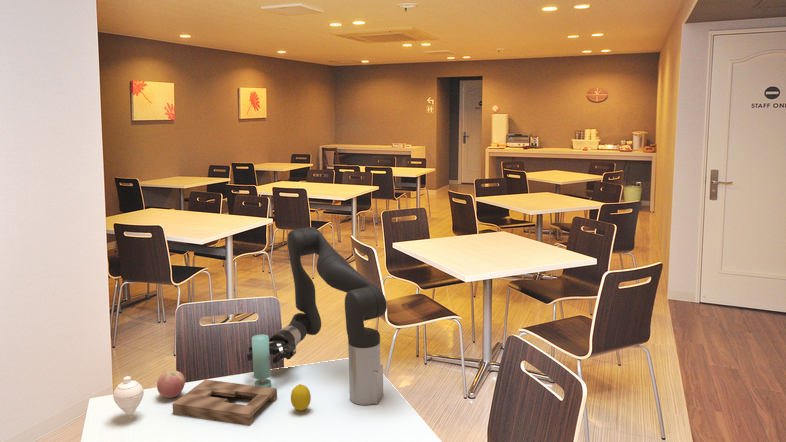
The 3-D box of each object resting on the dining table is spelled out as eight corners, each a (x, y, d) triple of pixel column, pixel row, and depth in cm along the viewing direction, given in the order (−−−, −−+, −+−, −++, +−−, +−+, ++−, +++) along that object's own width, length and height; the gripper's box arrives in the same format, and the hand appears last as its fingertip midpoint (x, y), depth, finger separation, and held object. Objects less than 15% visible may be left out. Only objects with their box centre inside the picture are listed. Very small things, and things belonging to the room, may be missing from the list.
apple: (172, 405, 172) (170, 379, 171) (152, 400, 175) (149, 374, 174) (191, 393, 179) (189, 368, 178) (171, 389, 182) (169, 364, 181)
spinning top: (142, 423, 162) (138, 382, 159) (112, 426, 160) (107, 384, 158) (148, 410, 169) (145, 370, 167) (120, 412, 168) (116, 372, 166)
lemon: (307, 416, 164) (306, 389, 163) (288, 414, 166) (287, 387, 164) (313, 407, 170) (312, 380, 168) (295, 405, 171) (294, 379, 169)
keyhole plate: (277, 398, 175) (276, 388, 175) (249, 425, 160) (249, 414, 159) (206, 389, 182) (205, 379, 181) (173, 414, 167) (172, 403, 166)
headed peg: (273, 384, 185) (271, 335, 182) (266, 391, 180) (263, 341, 177) (259, 382, 186) (256, 333, 183) (251, 389, 181) (248, 339, 179)
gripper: (265, 327, 198) (239, 345, 183) (304, 331, 194) (281, 349, 179) (266, 348, 199) (241, 368, 184) (305, 353, 195) (282, 373, 180)
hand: (261, 359), depth 181 cm, fingers open, 8 cm apart
